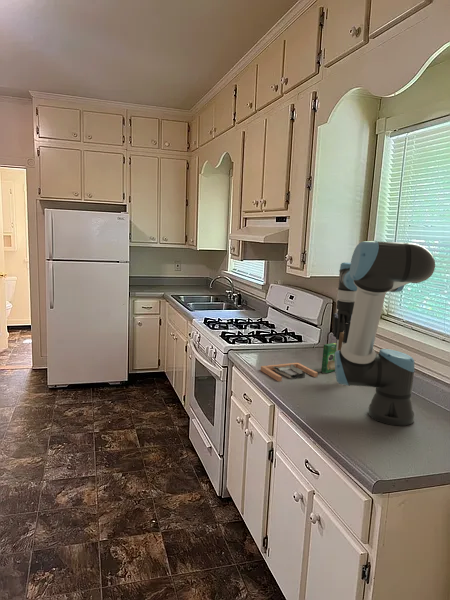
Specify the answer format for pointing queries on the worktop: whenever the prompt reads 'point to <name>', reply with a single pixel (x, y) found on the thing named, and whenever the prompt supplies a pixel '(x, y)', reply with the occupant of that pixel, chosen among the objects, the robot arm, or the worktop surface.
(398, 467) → the worktop surface
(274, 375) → the tile bay
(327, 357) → the coffee box
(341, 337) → the wooden scraper
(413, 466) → the worktop surface
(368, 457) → the worktop surface
